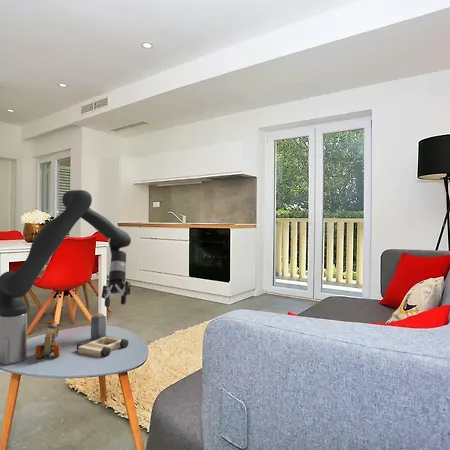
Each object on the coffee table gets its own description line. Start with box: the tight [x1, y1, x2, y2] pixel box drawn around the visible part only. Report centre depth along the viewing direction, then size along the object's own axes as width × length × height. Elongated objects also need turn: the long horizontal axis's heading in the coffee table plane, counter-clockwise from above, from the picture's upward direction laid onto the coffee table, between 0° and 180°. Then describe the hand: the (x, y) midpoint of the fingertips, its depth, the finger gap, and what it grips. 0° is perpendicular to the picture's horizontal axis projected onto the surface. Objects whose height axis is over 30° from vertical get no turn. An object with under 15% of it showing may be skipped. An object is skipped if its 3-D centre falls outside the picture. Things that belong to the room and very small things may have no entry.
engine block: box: [90, 313, 107, 341], centre depth 160 cm, size 4×4×11 cm
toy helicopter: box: [34, 320, 62, 359], centre depth 143 cm, size 8×21×14 cm, turn 17°
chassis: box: [76, 335, 130, 358], centre depth 147 cm, size 16×15×3 cm
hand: (115, 305), depth 162 cm, fingers open, 8 cm apart
